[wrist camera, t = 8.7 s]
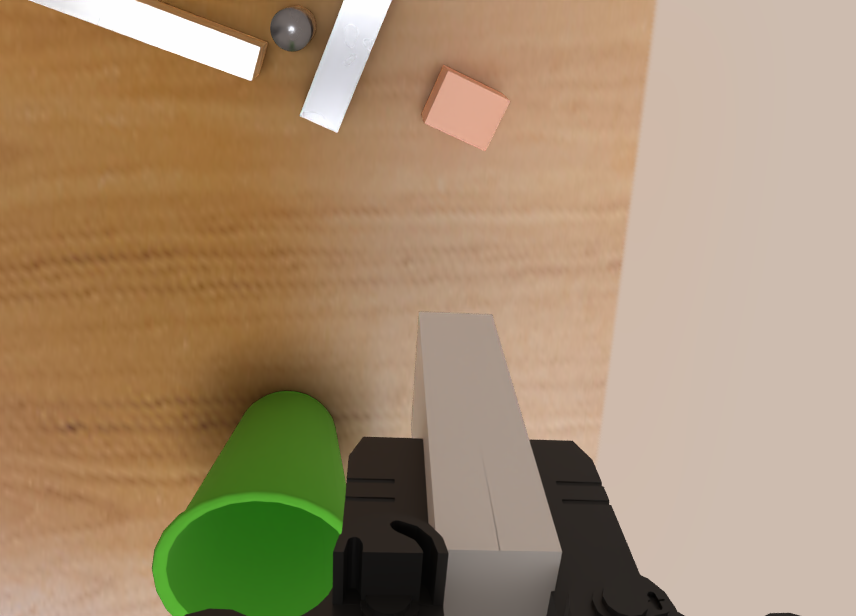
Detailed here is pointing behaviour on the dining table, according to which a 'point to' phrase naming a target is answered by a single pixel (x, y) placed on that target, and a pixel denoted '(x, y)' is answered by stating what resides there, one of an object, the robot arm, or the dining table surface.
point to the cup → (260, 517)
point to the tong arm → (172, 32)
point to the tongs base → (332, 54)
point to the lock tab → (464, 108)
